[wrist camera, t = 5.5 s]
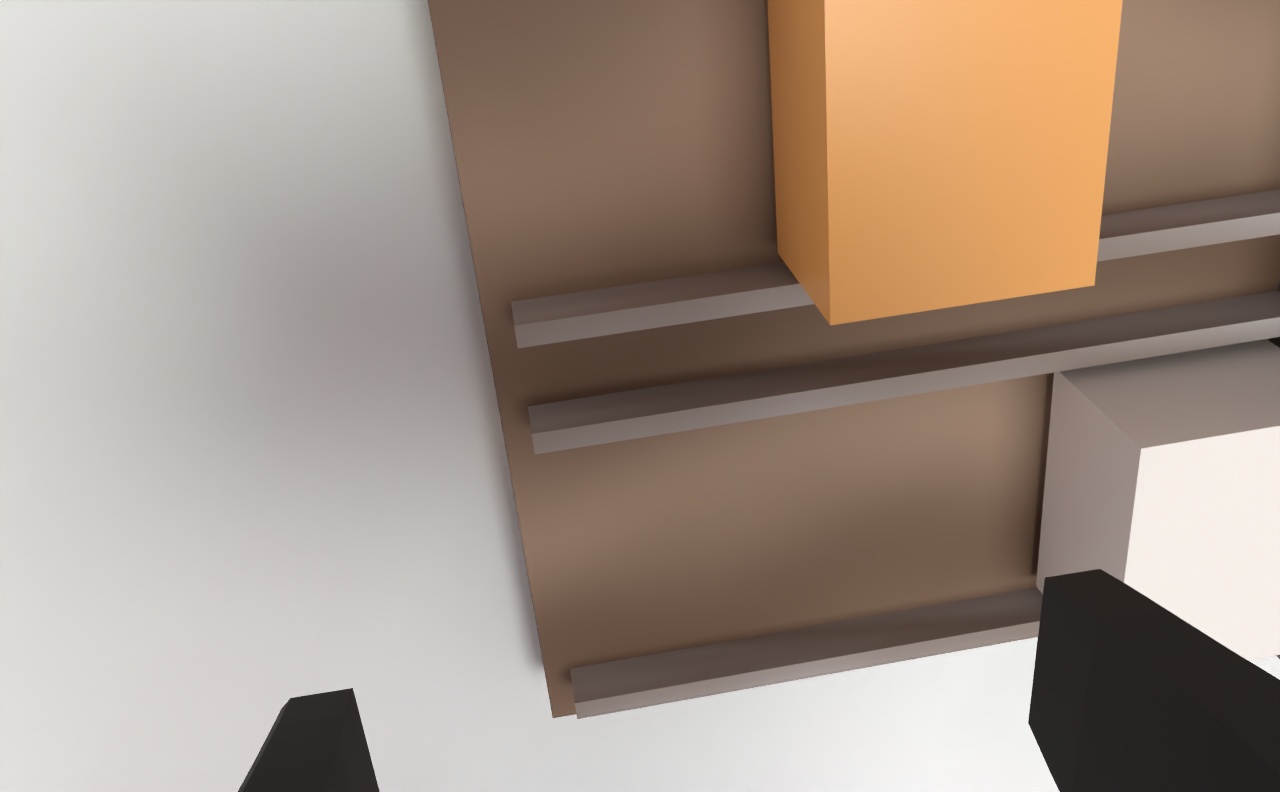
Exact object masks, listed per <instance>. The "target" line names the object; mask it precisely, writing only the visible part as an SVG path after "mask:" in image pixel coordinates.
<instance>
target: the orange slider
mask: <svg viewBox="0 0 1280 792" xmlns="http://www.w3.org/2000/svg"><path fill="white" fill-rule="evenodd" d="M767 1H768V26H769V51H770V75H771V100H772V125H773V149H774V174H775V198H776V223H777V248H778V254H779V255H780V257H781V258H782V260H783V261H784V262H785V264H786V265H787V266H788V268H789V269H790V271H791V272H792V273H793V275H794V276H795V277H796V279H797V280H798V282H799V283H800V284H801V286H802V287H803V288H804V290H805V291H806V293H807V294H808V295H809V297H810V298H811V300H812V301H813V302H814V304H815V305H816V306H817V308H818V309H819V311H820V312H821V313H822V315H823V316H824V317H825V319H826V320H827V322H828V323H829V324H830V325H837V324H843V323H850V322H856V321H863V320H870V319H876V318H883V317H889V316H896V315H903V314H909V313H916V312H922V311H929V310H936V309H942V308H949V307H955V306H962V305H969V304H975V303H982V302H988V301H995V300H1002V299H1008V298H1015V297H1021V296H1028V295H1035V294H1041V293H1048V292H1054V291H1061V290H1068V289H1074V288H1081V287H1087V286H1094V285H1095V275H1096V265H1097V255H1098V245H1099V235H1100V225H1101V215H1102V204H1103V194H1104V184H1105V174H1106V164H1107V154H1108V144H1109V134H1110V124H1111V114H1112V103H1113V93H1114V83H1115V73H1116V63H1117V53H1118V43H1119V33H1120V23H1121V12H1122V2H1123V0H767Z"/></svg>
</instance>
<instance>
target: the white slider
mask: <svg viewBox="0 0 1280 792" xmlns="http://www.w3.org/2000/svg"><path fill="white" fill-rule="evenodd" d="M1095 569H1101V570H1103V571H1105V572H1107V573H1108V574H1110V575H1112V576H1113V577H1115V578H1117V579H1119V580H1120V581H1122V582H1124V583H1125V584H1127V585H1128V586H1130V587H1132V588H1133V589H1135V590H1137V591H1138V592H1140V593H1141V594H1143V595H1145V596H1146V597H1148V598H1149V599H1151V600H1153V601H1154V602H1156V603H1157V604H1159V605H1160V606H1162V607H1164V608H1165V609H1167V610H1168V611H1170V612H1171V613H1173V614H1175V615H1176V616H1178V617H1179V618H1181V619H1183V620H1184V621H1186V622H1187V623H1189V624H1190V625H1192V626H1194V627H1195V628H1197V629H1198V630H1200V631H1201V632H1203V633H1205V634H1206V635H1208V636H1209V637H1211V638H1213V639H1214V640H1216V641H1217V642H1219V643H1220V644H1222V645H1224V646H1225V647H1227V648H1228V649H1230V650H1232V651H1233V652H1235V653H1237V654H1238V655H1240V656H1241V657H1243V658H1245V659H1246V660H1254V659H1259V658H1264V657H1270V656H1275V655H1280V348H1279V347H1277V346H1276V345H1274V344H1273V343H1271V342H1270V341H1268V340H1267V339H1263V340H1256V341H1250V342H1244V343H1237V344H1231V345H1225V346H1218V347H1212V348H1206V349H1199V350H1193V351H1187V352H1180V353H1174V354H1168V355H1161V356H1155V357H1149V358H1142V359H1136V360H1130V361H1123V362H1117V363H1111V364H1104V365H1098V366H1092V367H1085V368H1079V369H1073V370H1066V371H1060V372H1054V379H1053V391H1052V402H1051V414H1050V426H1049V438H1048V450H1047V462H1046V474H1045V485H1044V497H1043V509H1042V521H1041V533H1040V545H1039V557H1038V568H1037V580H1036V586H1037V588H1038V589H1039V591H1040V592H1041V593H1042V595H1043V589H1044V580H1045V577H1052V576H1058V575H1064V574H1070V573H1077V572H1083V571H1089V570H1095Z"/></svg>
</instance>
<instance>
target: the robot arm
mask: <svg viewBox="0 0 1280 792" xmlns="http://www.w3.org/2000/svg"><path fill="white" fill-rule="evenodd" d="M1028 723H1029V725H1030V727H1031V730H1032V732H1033V734H1034V736H1035V739H1036V741H1037V743H1038V745H1039V748H1040V750H1041V752H1042V754H1043V757H1044V759H1045V761H1046V763H1047V766H1048V768H1049V770H1050V772H1051V774H1052V776H1053V779H1054V781H1055V783H1056V785H1057V787H1058V789H1059V791H1060V792H1280V680H1279V679H1277V678H1276V677H1274V676H1272V675H1271V674H1269V673H1267V672H1266V671H1264V670H1263V669H1261V668H1259V667H1258V666H1256V665H1254V664H1253V663H1251V662H1249V661H1248V660H1246V659H1245V658H1243V657H1241V656H1240V655H1238V654H1237V653H1235V652H1233V651H1232V650H1230V649H1228V648H1227V647H1225V646H1224V645H1222V644H1220V643H1219V642H1217V641H1216V640H1214V639H1213V638H1211V637H1209V636H1208V635H1206V634H1205V633H1203V632H1201V631H1200V630H1198V629H1197V628H1195V627H1194V626H1192V625H1190V624H1189V623H1187V622H1186V621H1184V620H1183V619H1181V618H1179V617H1178V616H1176V615H1175V614H1173V613H1171V612H1170V611H1168V610H1167V609H1165V608H1164V607H1162V606H1160V605H1159V604H1157V603H1156V602H1154V601H1153V600H1151V599H1149V598H1148V597H1146V596H1145V595H1143V594H1141V593H1140V592H1138V591H1137V590H1135V589H1133V588H1132V587H1130V586H1128V585H1127V584H1125V583H1124V582H1122V581H1120V580H1119V579H1117V578H1115V577H1113V576H1112V575H1110V574H1108V573H1107V572H1105V571H1103V570H1101V569H1095V570H1089V571H1083V572H1077V573H1070V574H1064V575H1058V576H1052V577H1045V580H1044V589H1043V598H1042V607H1041V616H1040V624H1039V633H1038V642H1037V651H1036V660H1035V669H1034V678H1033V687H1032V696H1031V704H1030V713H1029V722H1028ZM238 792H379V788H378V784H377V781H376V777H375V773H374V769H373V765H372V761H371V757H370V753H369V750H368V746H367V742H366V738H365V734H364V730H363V726H362V723H361V719H360V715H359V711H358V707H357V703H356V699H355V695H354V692H353V688H351V689H345V690H339V691H332V692H326V693H320V694H314V695H307V696H301V697H295V698H290V700H289V701H288V702H287V703H286V704H285V705H284V707H283V708H282V709H281V711H280V713H279V715H278V717H277V719H276V721H275V723H274V725H273V727H272V729H271V731H270V733H269V735H268V736H267V738H266V740H265V742H264V744H263V746H262V748H261V750H260V752H259V754H258V756H257V758H256V759H255V761H254V763H253V765H252V767H251V769H250V771H249V772H248V774H247V776H246V778H245V780H244V782H243V783H242V785H241V787H240V789H239V791H238Z"/></svg>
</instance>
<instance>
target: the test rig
mask: <svg viewBox="0 0 1280 792" xmlns="http://www.w3.org/2000/svg"><path fill="white" fill-rule="evenodd" d="M428 3H429V9H430V15H431V21H432V26H433V32H434V38H435V44H436V49H437V55H438V61H439V67H440V72H441V78H442V84H443V90H444V95H445V101H446V107H447V113H448V118H449V124H450V130H451V136H452V141H453V147H454V153H455V159H456V164H457V170H458V176H459V182H460V187H461V193H462V199H463V205H464V210H465V216H466V222H467V227H468V233H469V239H470V245H471V250H472V256H473V262H474V268H475V273H476V279H477V285H478V291H479V296H480V302H481V308H482V314H483V319H484V325H485V331H486V337H487V342H488V348H489V354H490V360H491V365H492V371H493V377H494V383H495V388H496V394H497V400H498V406H499V411H500V417H501V423H502V429H503V434H504V440H505V446H506V452H507V457H508V463H509V469H510V475H511V480H512V486H513V492H514V498H515V503H516V509H517V515H518V521H519V526H520V532H521V538H522V544H523V549H524V555H525V561H526V567H527V572H528V578H529V584H530V590H531V595H532V601H533V607H534V613H535V618H536V624H537V630H538V635H539V641H540V647H541V653H542V658H543V664H544V670H545V676H546V681H547V687H548V693H549V699H550V704H551V710H552V716H553V718H556V717H562V716H568V715H573V714H577V719H580V718H585V717H591V716H597V715H602V714H608V713H613V712H619V711H625V710H630V709H636V708H641V707H647V706H653V705H658V704H664V703H669V702H675V701H681V700H686V699H692V698H697V697H703V696H709V695H714V694H720V693H725V692H731V691H737V690H742V689H748V688H753V687H759V686H765V685H770V684H776V683H781V682H787V681H793V680H798V679H804V678H809V677H815V676H821V675H826V674H832V673H838V672H843V671H849V670H854V669H860V668H866V667H871V666H877V665H882V664H888V663H894V662H899V661H905V660H910V659H916V658H922V657H927V656H933V655H938V654H944V653H950V652H955V651H961V650H966V649H972V648H978V647H983V646H989V645H994V644H1000V643H1006V642H1011V641H1017V640H1022V639H1028V638H1034V637H1038V633H1039V624H1040V616H1041V607H1042V598H1043V595H1042V593H1041V592H1040V591H1039V589H1038V588H1037V586H1036V580H1037V568H1038V557H1039V545H1040V533H1041V521H1042V509H1043V497H1044V485H1045V474H1046V462H1047V450H1048V438H1049V426H1050V414H1051V402H1052V391H1053V379H1054V372H1060V371H1066V370H1073V369H1079V368H1085V367H1092V366H1098V365H1104V364H1111V363H1117V362H1123V361H1130V360H1136V359H1142V358H1149V357H1155V356H1161V355H1168V354H1174V353H1180V352H1187V351H1193V350H1199V349H1206V348H1212V347H1218V346H1225V345H1231V344H1237V343H1244V342H1250V341H1256V340H1263V339H1267V340H1268V341H1270V342H1271V343H1273V344H1274V345H1276V346H1277V347H1279V348H1280V0H1123V2H1122V12H1121V23H1120V33H1119V43H1118V53H1117V63H1116V73H1115V83H1114V93H1113V103H1112V114H1111V124H1110V134H1109V144H1108V154H1107V164H1106V174H1105V184H1104V194H1103V204H1102V215H1101V225H1100V235H1099V245H1098V255H1097V265H1096V275H1095V285H1094V286H1087V287H1081V288H1074V289H1068V290H1061V291H1054V292H1048V293H1041V294H1035V295H1028V296H1021V297H1015V298H1008V299H1002V300H995V301H988V302H982V303H975V304H969V305H962V306H955V307H949V308H942V309H936V310H929V311H922V312H916V313H909V314H903V315H896V316H889V317H883V318H876V319H870V320H863V321H856V322H850V323H843V324H837V325H830V324H829V323H828V322H827V320H826V319H825V317H824V316H823V315H822V313H821V312H820V311H819V309H818V308H817V306H816V305H815V304H814V302H813V301H812V300H811V298H810V297H809V295H808V294H807V293H806V291H805V290H804V288H803V287H802V286H801V284H800V283H799V282H798V280H797V279H796V277H795V276H794V275H793V273H792V272H791V271H790V269H789V268H788V266H787V265H786V264H785V262H784V261H783V260H782V258H781V257H780V255H779V254H778V248H777V223H776V198H775V174H774V149H773V125H772V100H771V75H770V51H769V26H768V1H767V0H428ZM1276 656H1277V657H1278V658H1279V659H1280V655H1276Z"/></svg>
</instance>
